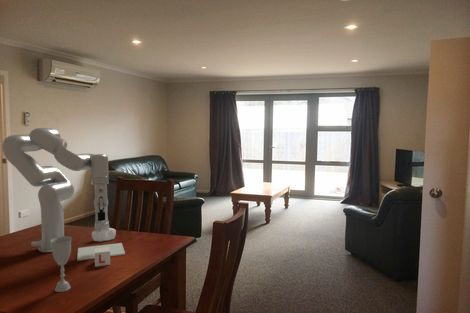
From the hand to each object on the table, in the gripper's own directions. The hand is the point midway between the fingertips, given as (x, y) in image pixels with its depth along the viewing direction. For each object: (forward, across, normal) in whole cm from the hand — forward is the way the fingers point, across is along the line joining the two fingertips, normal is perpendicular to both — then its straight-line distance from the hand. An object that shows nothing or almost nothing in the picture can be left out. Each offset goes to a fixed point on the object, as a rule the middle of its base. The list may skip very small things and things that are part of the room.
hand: (101, 218), depth 156 cm
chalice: (+16, -35, +15) cm, 41 cm away
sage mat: (+16, 0, +1) cm, 16 cm away
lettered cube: (+16, -15, +1) cm, 22 cm away
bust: (+16, +19, -1) cm, 25 cm away
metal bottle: (+7, 0, 0) cm, 7 cm away
